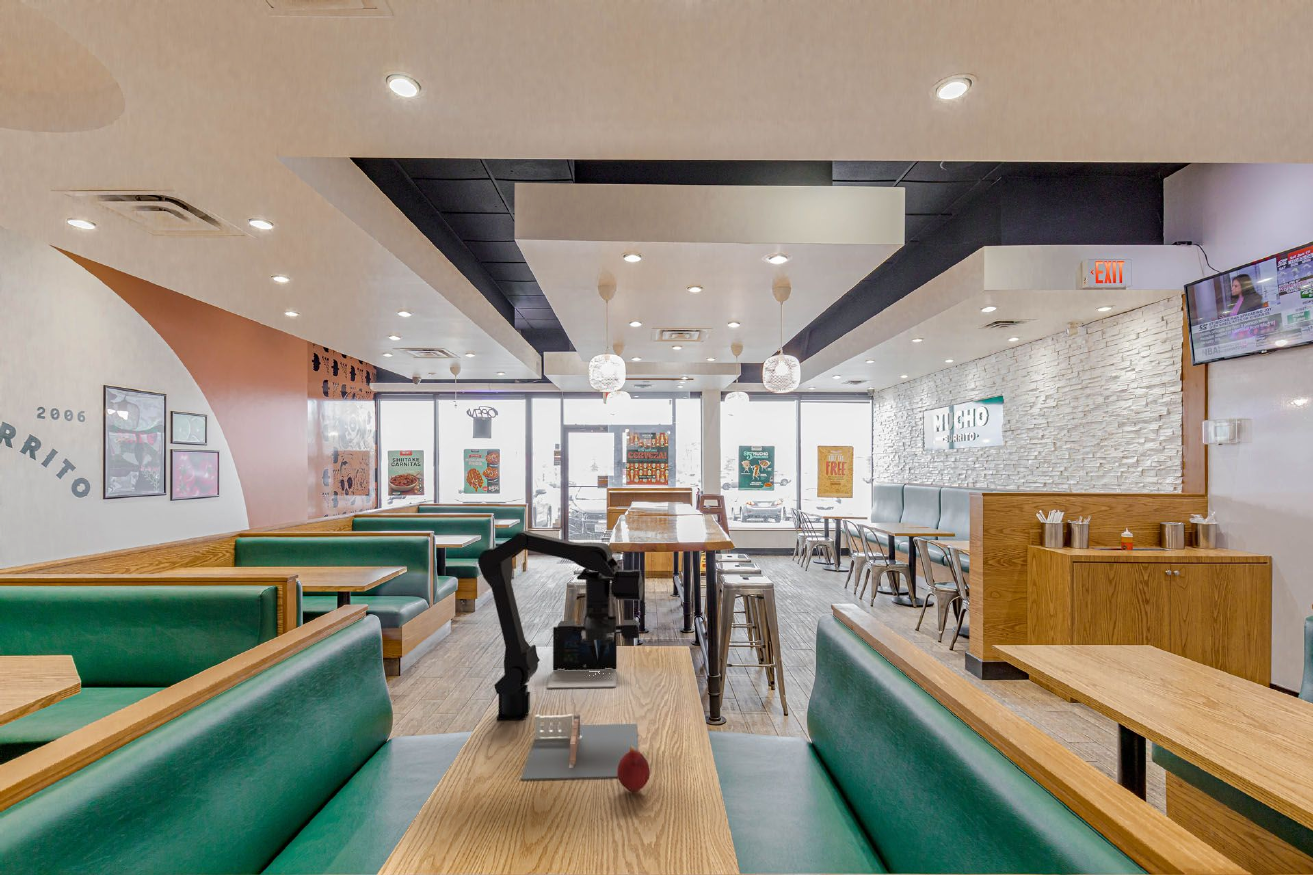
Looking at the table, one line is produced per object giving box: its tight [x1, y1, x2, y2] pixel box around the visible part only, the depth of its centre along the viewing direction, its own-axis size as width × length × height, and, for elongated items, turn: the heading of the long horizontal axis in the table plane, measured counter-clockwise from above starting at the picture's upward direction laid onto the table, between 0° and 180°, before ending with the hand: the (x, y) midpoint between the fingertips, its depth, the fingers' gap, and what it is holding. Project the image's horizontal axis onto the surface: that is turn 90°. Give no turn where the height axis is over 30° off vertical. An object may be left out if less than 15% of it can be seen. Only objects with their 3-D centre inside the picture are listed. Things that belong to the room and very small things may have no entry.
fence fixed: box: [534, 713, 573, 740], centre depth 127 cm, size 8×1×5 cm, turn 93°
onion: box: [617, 746, 651, 794], centre depth 107 cm, size 6×6×8 cm
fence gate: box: [570, 713, 581, 765], centre depth 121 cm, size 13×1×4 cm, turn 4°
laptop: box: [546, 626, 618, 690], centre depth 162 cm, size 18×12×13 cm
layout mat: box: [520, 723, 639, 781], centre depth 122 cm, size 22×22×1 cm
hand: (597, 667), depth 137 cm, fingers closed
